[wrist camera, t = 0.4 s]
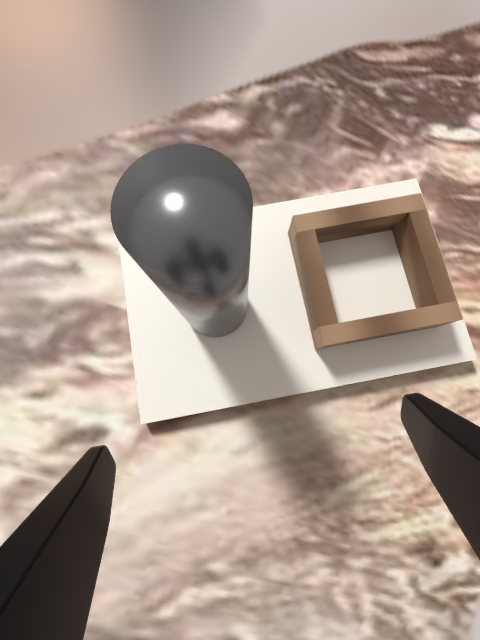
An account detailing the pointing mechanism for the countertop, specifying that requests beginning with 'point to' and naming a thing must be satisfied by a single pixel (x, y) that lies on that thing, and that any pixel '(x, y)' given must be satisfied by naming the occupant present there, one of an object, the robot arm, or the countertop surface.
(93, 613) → the countertop surface
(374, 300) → the board
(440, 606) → the countertop surface
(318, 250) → the square wooden frame
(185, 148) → the grey tall rounded cylinder
